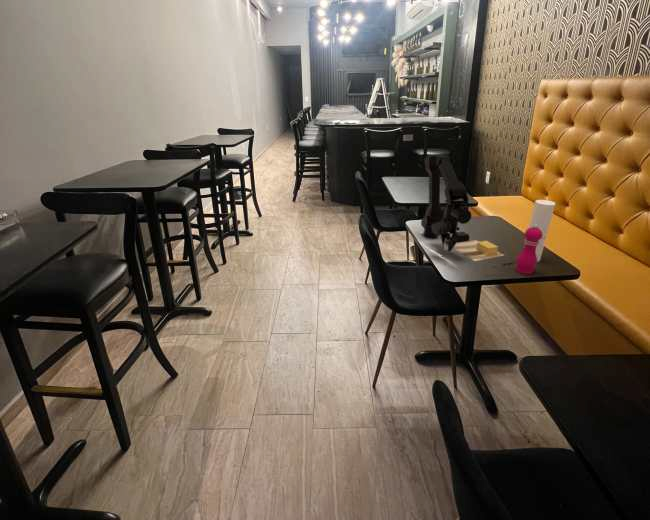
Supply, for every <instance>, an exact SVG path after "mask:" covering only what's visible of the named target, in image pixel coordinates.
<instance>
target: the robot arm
mask: <svg viewBox="0 0 650 520" xmlns="http://www.w3.org/2000/svg"><path fill="white" fill-rule="evenodd" d="M423 162H424V165H425V166H424V167H425V171H426V172H427V174H428V207H427V208H426V211H425V212H424V217H423V218H422V219H421V221H420V223H421V226H422V228H423V236H424V237H425V238H427V239H431V240H436V239H438V236H439V237H440V239H441V244H442V247H444V240H445V237H447V236H449V237H447V239H448V240H449V245H448V251H450V252H452V250H454V249H453V247H454V246H455V245H456V243H461V242H467V241H470V234H469V233H466V232H464V231H460V228H461V227H458V226H459V224H461V225H465V224H468V223H469V222H470V221H471V219H472V212H471V211H470V210H469V207H468V205H469V196H468V193H467V188H466V187H465V185H464V184H463V182H461V181H460V180H458V177H457V175H456V173H455V170H454V169H453V166H452V163H451V158H450V156H448V155H443V154H439V153H438V154H427V155H426V157H425V158H424V161H423ZM441 177H442V178H443V181H444V184H445V188H444V195H445V196H444V197H445V199H446V200H445V201H444V202H445V203H446V207H445V210H444V209H442V207H441V206H440V205H441V201H440V200H441V197H440V195H441V194H440V193H441Z"/></svg>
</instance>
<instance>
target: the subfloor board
mask: <svg viewBox="0 0 650 520" xmlns="http://www.w3.org/2000/svg"><path fill="white" fill-rule="evenodd" d="M477 242H480V241H479V240H477V239H475V240H474V239H473V240H469V241H466V242H460V243H456V245H455V246H454V247H453V249H452V250H455V251H457V252H459V253H461V254H462V255H464V256H465V257H467V258H468V259H470V260H472V261H474V262H476V261H477V262H478V261H482V260H483V261H484V260H487V259H488V260H489V259H493V258H497V257H502V256H503V257H504V256H505V254H504V253H501V252H499V251H498V250H497V254H494V255H489V256H487V255H485V254H483V253H481V252H479V251H478V250H476V247H477Z"/></svg>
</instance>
